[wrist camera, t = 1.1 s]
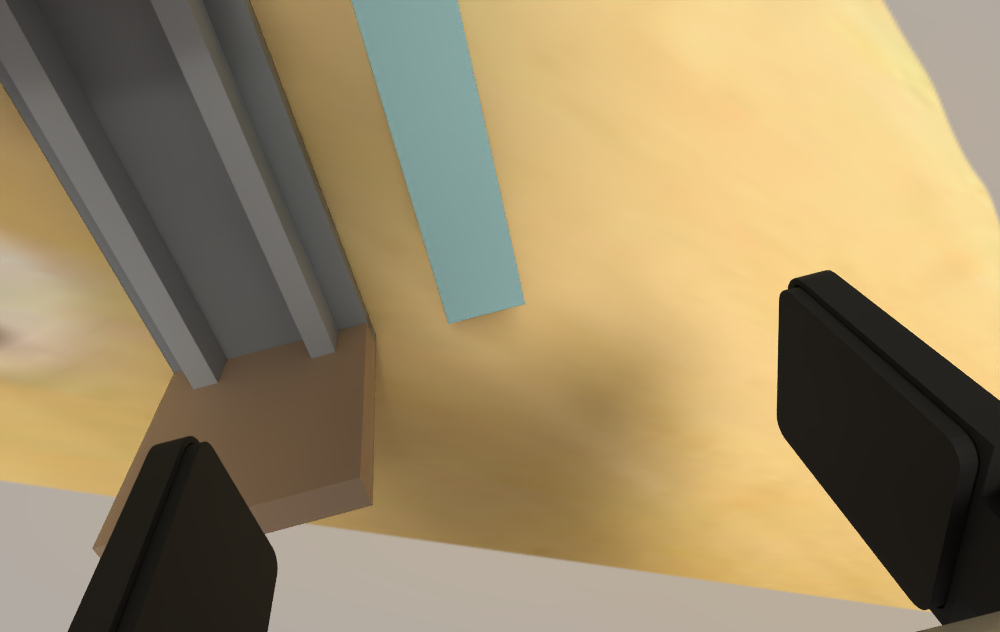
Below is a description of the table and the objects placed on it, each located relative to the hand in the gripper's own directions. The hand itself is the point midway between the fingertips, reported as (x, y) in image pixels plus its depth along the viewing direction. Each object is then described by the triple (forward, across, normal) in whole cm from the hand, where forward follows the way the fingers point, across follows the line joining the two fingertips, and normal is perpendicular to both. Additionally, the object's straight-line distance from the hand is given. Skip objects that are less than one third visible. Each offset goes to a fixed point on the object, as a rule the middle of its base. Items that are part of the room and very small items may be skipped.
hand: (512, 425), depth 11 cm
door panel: (+22, 0, 0) cm, 22 cm away
